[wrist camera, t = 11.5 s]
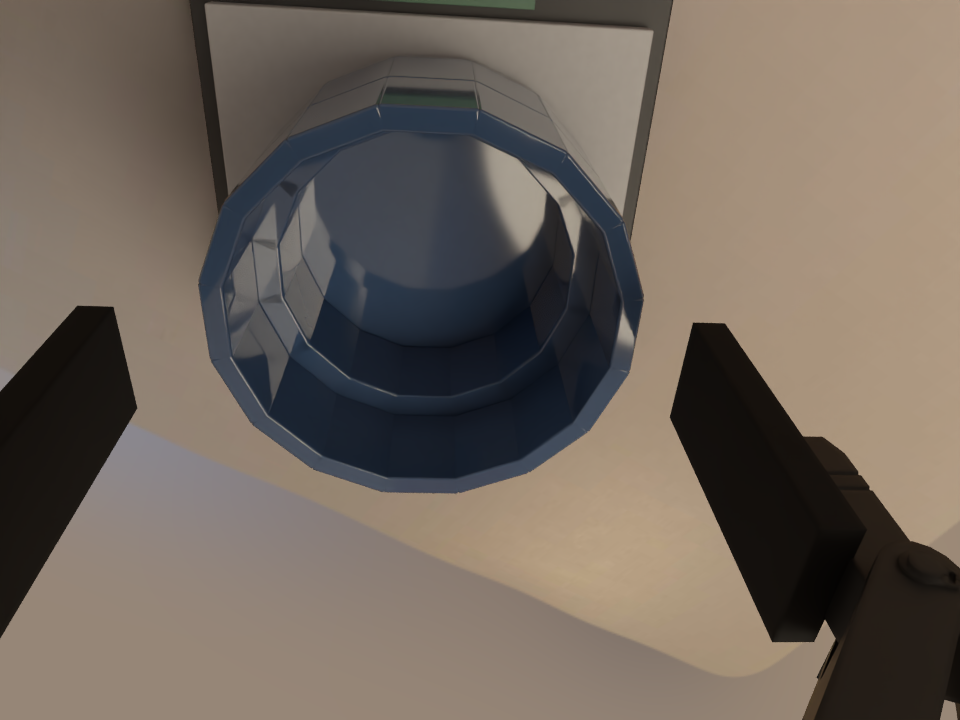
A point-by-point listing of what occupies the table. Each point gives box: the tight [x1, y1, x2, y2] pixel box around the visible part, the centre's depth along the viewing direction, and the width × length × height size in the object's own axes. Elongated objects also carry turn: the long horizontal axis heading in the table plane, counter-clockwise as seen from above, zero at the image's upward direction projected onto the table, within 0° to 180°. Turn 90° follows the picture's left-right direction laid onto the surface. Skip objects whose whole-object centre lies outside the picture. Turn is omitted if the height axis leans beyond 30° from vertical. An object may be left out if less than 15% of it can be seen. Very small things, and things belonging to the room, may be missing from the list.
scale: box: [189, 0, 673, 240], centre depth 25 cm, size 15×14×3 cm
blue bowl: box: [198, 56, 644, 493], centre depth 22 cm, size 11×11×7 cm
